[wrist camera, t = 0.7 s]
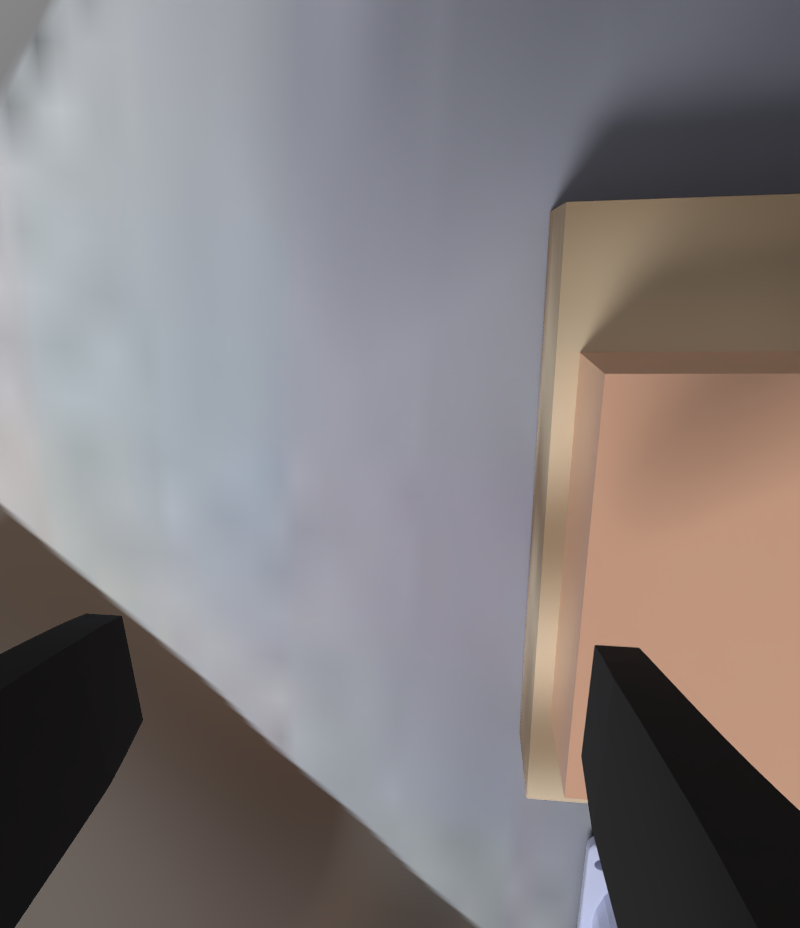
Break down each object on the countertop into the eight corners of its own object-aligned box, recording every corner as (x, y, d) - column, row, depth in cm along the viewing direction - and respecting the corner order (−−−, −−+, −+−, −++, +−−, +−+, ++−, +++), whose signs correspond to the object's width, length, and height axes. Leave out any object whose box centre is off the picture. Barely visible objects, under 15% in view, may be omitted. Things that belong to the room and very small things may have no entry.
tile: (824, 736, 15) (890, 824, 13) (550, 718, 16) (564, 798, 14) (935, 350, 12) (1050, 372, 9) (579, 352, 12) (604, 374, 10)
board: (913, 760, 18) (980, 835, 16) (519, 732, 19) (526, 798, 17) (1115, 192, 12) (1264, 176, 10) (550, 211, 14) (566, 202, 12)
